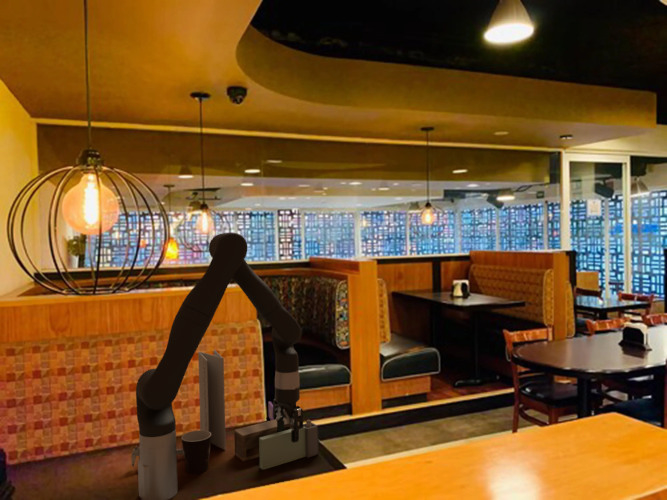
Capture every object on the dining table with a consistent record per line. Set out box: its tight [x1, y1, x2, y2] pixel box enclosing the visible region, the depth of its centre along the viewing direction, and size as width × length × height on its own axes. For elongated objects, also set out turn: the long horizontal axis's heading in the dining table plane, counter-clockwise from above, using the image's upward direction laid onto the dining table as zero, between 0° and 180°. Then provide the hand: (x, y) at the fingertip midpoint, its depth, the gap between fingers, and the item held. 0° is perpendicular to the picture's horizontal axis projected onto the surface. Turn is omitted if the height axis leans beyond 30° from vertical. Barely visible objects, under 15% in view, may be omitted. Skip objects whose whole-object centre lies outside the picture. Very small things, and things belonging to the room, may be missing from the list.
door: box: [259, 421, 320, 471], centre depth 156 cm, size 19×4×9 cm, turn 126°
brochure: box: [197, 349, 227, 451], centre depth 170 cm, size 14×6×30 cm, turn 25°
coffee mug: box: [180, 430, 212, 475], centre depth 153 cm, size 12×9×10 cm
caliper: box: [130, 445, 184, 467], centre depth 157 cm, size 20×1×6 cm, turn 117°
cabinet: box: [233, 418, 312, 462], centre depth 160 cm, size 20×15×11 cm
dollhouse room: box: [266, 401, 301, 425], centre depth 190 cm, size 12×12×7 cm
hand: (287, 437), depth 156 cm, fingers open, 8 cm apart
